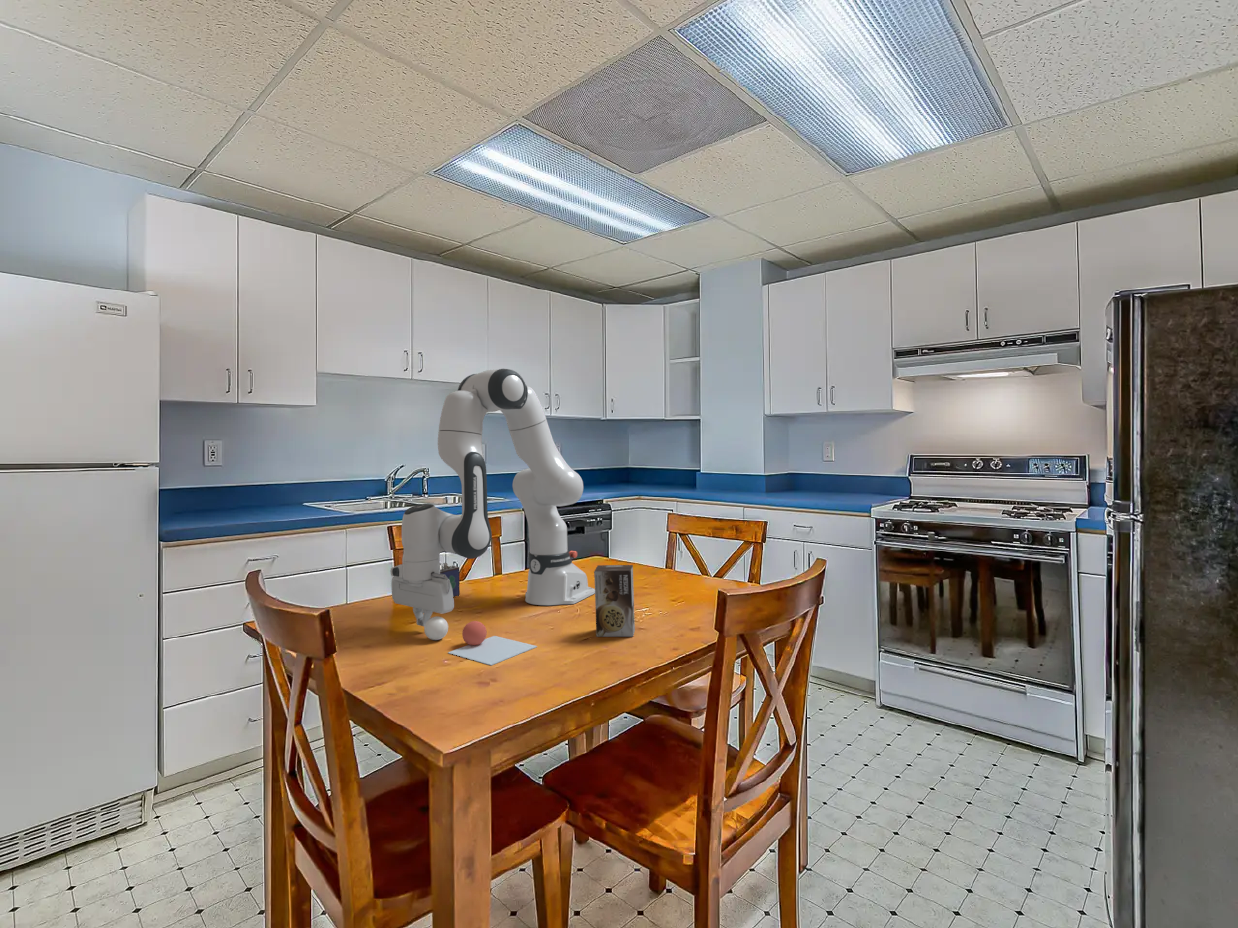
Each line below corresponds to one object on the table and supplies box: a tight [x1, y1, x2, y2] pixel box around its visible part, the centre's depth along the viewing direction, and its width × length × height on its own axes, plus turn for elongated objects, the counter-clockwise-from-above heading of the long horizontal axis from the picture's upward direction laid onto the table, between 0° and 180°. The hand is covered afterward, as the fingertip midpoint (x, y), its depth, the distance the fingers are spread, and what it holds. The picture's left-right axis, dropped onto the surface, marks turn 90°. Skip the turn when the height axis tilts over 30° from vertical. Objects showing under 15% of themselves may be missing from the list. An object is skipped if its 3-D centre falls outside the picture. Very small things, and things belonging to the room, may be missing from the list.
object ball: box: [461, 620, 487, 646], centre depth 146 cm, size 6×6×6 cm
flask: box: [440, 562, 461, 598], centre depth 190 cm, size 9×3×11 cm, turn 146°
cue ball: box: [423, 616, 449, 641], centre depth 150 cm, size 6×6×6 cm
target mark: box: [447, 635, 538, 666], centre depth 142 cm, size 14×14×1 cm
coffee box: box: [593, 564, 636, 638], centre depth 153 cm, size 9×6×16 cm
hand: (423, 625), depth 157 cm, fingers closed
